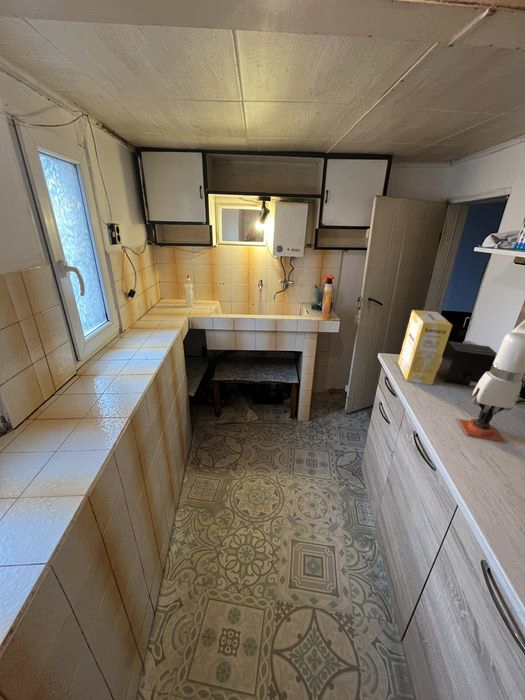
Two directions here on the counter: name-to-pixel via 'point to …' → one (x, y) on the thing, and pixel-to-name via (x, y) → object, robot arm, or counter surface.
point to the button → (482, 424)
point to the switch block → (479, 430)
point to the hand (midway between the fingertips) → (483, 421)
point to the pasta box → (423, 346)
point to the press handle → (471, 380)
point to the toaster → (465, 362)
